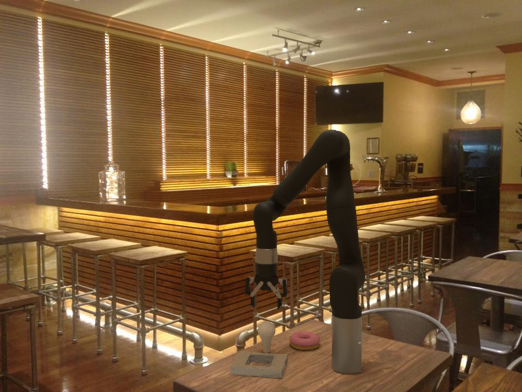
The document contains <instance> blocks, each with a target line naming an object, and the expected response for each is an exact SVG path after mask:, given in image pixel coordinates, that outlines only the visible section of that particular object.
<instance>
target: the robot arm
mask: <svg viewBox="0 0 522 392" xmlns="http://www.w3.org/2000/svg"><path fill="white" fill-rule="evenodd" d="M324 166H326V167H327V174H328V175H327V177H328V178H327V179H328V180H327V185H326V186H327V187H326V194H325V211H326V212H325V213H326V220H327V225H328V228H329V230H330V233H331V235H332V237H333V238H334V239H333V240H335V243H336V246H337V252H338V253H337V254H338V266H337V267H334V269H333V270H332V271H331V273H330V276H329V281H328V282H329V283H328V285H329V288H328V289H329V291H328V292H329V305H330V308H331V368H332V369H333V371H335V372H337V373H339V374H344V375H354V374H357V373H359V374H360V373H362V366H363V365H362V361H363V359H362V358H363V356H362V355H363V353H362V351H363V349H362V348H363V346H362V344H363V342H362V336H363V332H362V330H363V327H362V326H363V325H362V322H363V308H362V306H361V305H360V304H359V290H360V289H362V287H363V286H364V284H365V283H366V271H365V267H364V262H363V258H362V252H361V247H360V237H359V228H358V217H357V216H358V214H357V207H356V201H355V192H354V187H353V179H352V175H351V174H352V172H351V141H350V139H349V137H348V135H347V134H345V133H344V132H343V131H340V130H337V129H331V128H330V129H326V130H324V131H322V132H321V133H320V134H319V135H318V137H317V138H316V139H315V141H314V142H313V144H312V145H311V146H310V148H309V149H308V151H307V152H306V154H305V155H304V156H303V157H302V159H301V160H300V161H299V162H298V163H297V165H296V166H295V167H294V168H293V169H292V170H291V171H290V172H289V173H288V174H287V175H286V176H285V178H284V179H282V180H281V182H279V184H277V186H276V187H275V188H274V190H273V191H272V195H271V196H270V197H269V198H268V199H267V200H266V201H263V202H259V203H257V204H256V205H255V206H254V208H253V213H252V220H253V227H254V231H255V235H256V236H255V237H256V238H255V240H256V241H255V257H254V260H255V263H254V264H255V267H254V268H255V269H254V270H255V272H254V273H255V275H254V276H250V275H248V276H246V277H245V288H244V290H245V292H244V294H245V295H246V296H247V295H248V296H249V297H250V305H251V307H252V308H256V306H257V303H256V302H257V300H256V298H257V295H256V294H257V292H258V291H259V290H261V291H268V292H271V291H272V292H273V293H274V294H275V295H276V297H277V298H276V299H277V303H276V306H277V308H276V309H277V310H280V309H281V308H282V306H283V298H286V297H287V296H288V294H289V291H288V277H283V278H279V276H278V273H279V270H278V269H279V268H278V264H279V263H278V261H279V259H278V258H279V257H278V235H277V231H276V230H274V225H273V222H275V221H276V220H278V219H279V218H280V217H281V215H282V214H283V213H284V212H285V211H286V209H287V208H288V206H289V205H290V204H291V203H292V202H294V200H295V199H296V198H297V197H298V196H300V194H301V193H303V191H304V190H305V189H306V187H307V186H308V185H309V183H310V181H311V179H312V178H313V177H314V175H315V174H316V173H317V172H318V171H319V170H320V169H321V168H323V167H324ZM253 282H254V283H255V285H256V287H255V288H254V289H253V290H251V285H252V283H253ZM279 283H280V286H282V291H281V290H280V288H279V287H278V284H279Z"/></svg>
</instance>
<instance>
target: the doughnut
mask: <svg viewBox="0 0 522 392" xmlns="http://www.w3.org/2000/svg"><path fill="white" fill-rule="evenodd" d="M320 339H321V338H320V336H319V335H318V334H317V333H315V332H311V331H309V330H308V331H306V330H305V331H304V330H302V331H301V330H300V331H296V332H294V333H292V334H291V335H290V336H289V339H288V340H289V344H290V346H291V347H292V348H294V349H296V350H299V351H312V350H315V349H317V348H318V347H319V345H320V344H321V340H320Z"/></svg>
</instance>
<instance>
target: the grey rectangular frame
mask: <svg viewBox="0 0 522 392" xmlns="http://www.w3.org/2000/svg"><path fill="white" fill-rule="evenodd" d="M250 363H262V364H270V365H269V366H265V365H254V364H253V365H251V364H250ZM287 365H288V354H285V353H283V354H282V353H272V352H271V353H270V352H268V353H265V352H257V351H256V352H255V351H244V350H239V352H238V353H237V354H236V356H235V358H234V360H233V361H232V363H231V365H230V369H229V370H230V375H236V376H244V377H245V376H248V377H256V378H257V377H258V378H269V379H270V378H271V379H273V378H274V379H281V380H282V379H283V376H284V374H285V370H286V368H287Z"/></svg>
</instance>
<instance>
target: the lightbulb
mask: <svg viewBox="0 0 522 392" xmlns="http://www.w3.org/2000/svg"><path fill="white" fill-rule="evenodd" d="M257 334H258V337H259V338H260V340H261V346H262V351H263V352H262V353H270V352H271V347H272V341H273V338H274V336H275V334H276V325H274V323H273V322H271V321H270V320H268V321H267V320H265V321H262V322H261V323H260V324H258V327H257Z"/></svg>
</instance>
